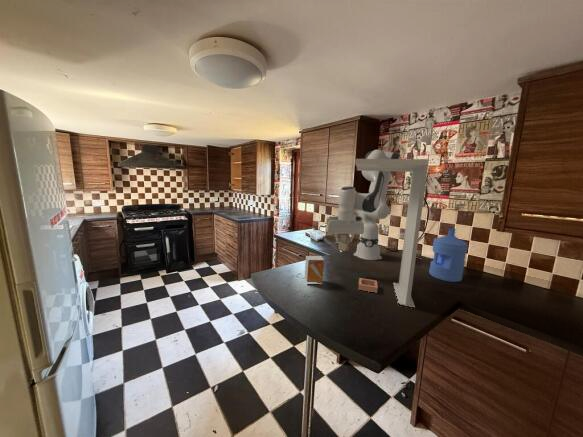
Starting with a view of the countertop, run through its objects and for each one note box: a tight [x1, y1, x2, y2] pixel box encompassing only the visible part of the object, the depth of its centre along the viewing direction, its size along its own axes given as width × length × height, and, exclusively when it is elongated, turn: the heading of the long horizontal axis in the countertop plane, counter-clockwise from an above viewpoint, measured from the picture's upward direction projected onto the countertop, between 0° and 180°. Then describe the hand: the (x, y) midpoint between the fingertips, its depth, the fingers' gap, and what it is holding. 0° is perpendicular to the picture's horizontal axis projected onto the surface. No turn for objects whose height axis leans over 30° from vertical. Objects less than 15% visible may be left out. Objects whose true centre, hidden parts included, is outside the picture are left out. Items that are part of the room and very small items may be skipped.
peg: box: [337, 234, 351, 252], centre depth 125 cm, size 4×4×9 cm
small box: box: [304, 255, 325, 284], centre depth 114 cm, size 8×6×13 cm
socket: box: [357, 277, 378, 294], centre depth 110 cm, size 8×8×3 cm
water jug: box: [428, 227, 468, 283], centre depth 127 cm, size 16×16×28 cm
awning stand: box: [354, 158, 430, 309], centre depth 104 cm, size 22×28×60 cm
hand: (344, 241), depth 125 cm, fingers closed on peg, 6 cm apart
